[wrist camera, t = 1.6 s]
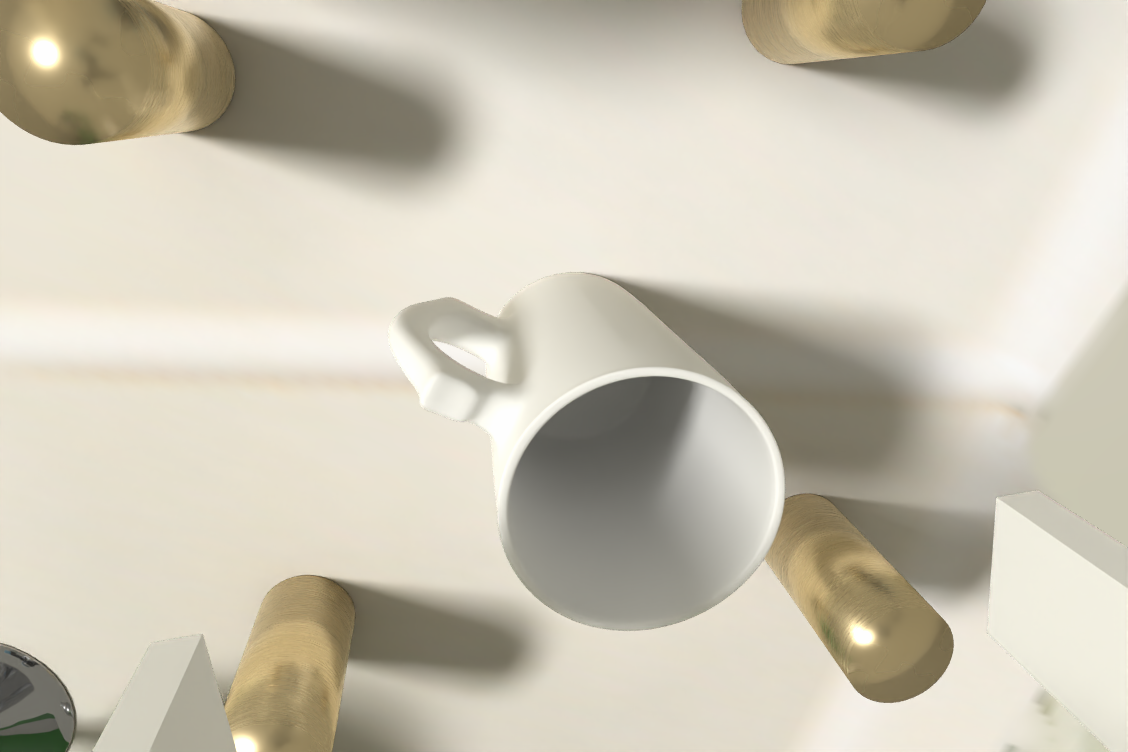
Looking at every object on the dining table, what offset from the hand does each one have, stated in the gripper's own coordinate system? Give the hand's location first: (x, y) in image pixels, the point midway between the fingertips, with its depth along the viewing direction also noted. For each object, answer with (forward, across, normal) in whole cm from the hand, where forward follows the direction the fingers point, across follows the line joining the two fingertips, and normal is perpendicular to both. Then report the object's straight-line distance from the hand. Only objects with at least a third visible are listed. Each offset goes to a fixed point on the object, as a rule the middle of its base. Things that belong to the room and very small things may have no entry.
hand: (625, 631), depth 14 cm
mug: (+18, 0, 0) cm, 18 cm away
